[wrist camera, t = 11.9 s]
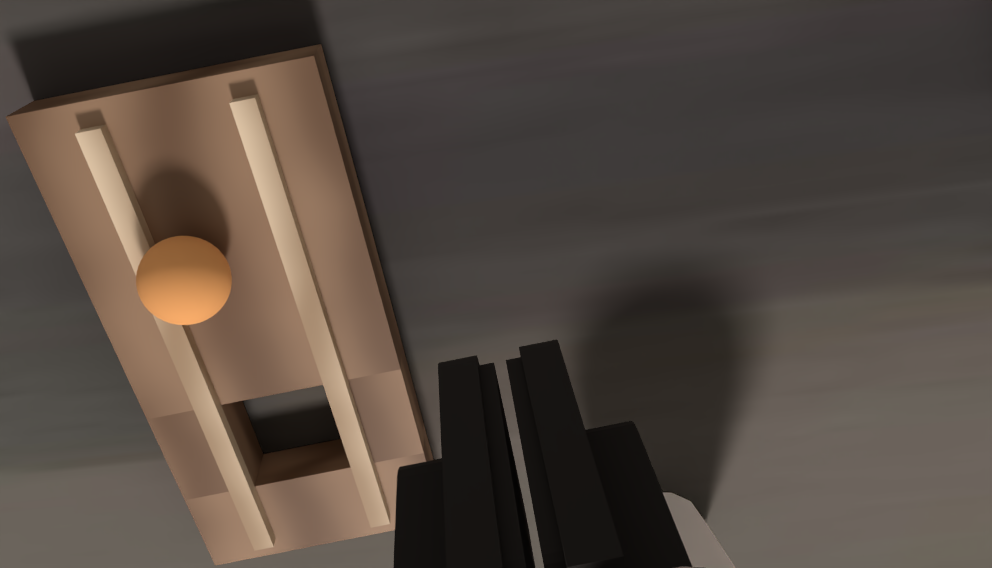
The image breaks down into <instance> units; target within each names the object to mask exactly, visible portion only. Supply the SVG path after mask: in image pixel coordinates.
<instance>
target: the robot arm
mask: <svg viewBox="0 0 992 568" xmlns="http://www.w3.org/2000/svg"><path fill="white" fill-rule="evenodd" d="M519 350H520V355H521V357H520V358H515V359H510V360H506V363H507V369H508V374H509V379H510V385H511V390H512V396H513V401H514V406H515V412H516V417H517V423H518V428H519V433H520V439H521V444H522V450H523V455H524V461H525V466H526V471H527V477H528V482H529V488H530V493H531V498H532V504H533V509H534V515H535V520H536V525H537V531H538V536H539V542H540V547H541V552H542V558H543V563H544V568H704V567H692V564H691V562H690V559H689V557H688V554H687V552H686V549H685V547H684V544H683V542H682V539H681V537H680V535H679V532H678V530H677V527H676V525H675V522H674V520H673V517H672V515H671V512H670V510H669V507H668V505H667V502H666V500H665V497H664V495H663V492H662V490H661V487H660V485H659V482H658V480H657V477H656V475H655V472H654V470H653V467H652V465H651V462H650V460H649V457H648V455H647V452H646V450H645V448H644V445H643V443H642V440H641V438H640V435H639V433H638V430H637V428H636V426H635V424H634V423H633V422H632V421H629V422H624V423H619V424H614V425H609V426H604V427H599V428H594V429H588V430H585V428H584V425H583V422H582V418H581V415H580V412H579V408H578V405H577V402H576V399H575V395H574V392H573V389H572V386H571V382H570V379H569V376H568V373H567V369H566V366H565V363H564V360H563V356H562V353H561V350H560V346H559V343H558V340H552V341H547V342H542V343H537V344H532V345H527V346H522V347H519ZM438 375H439V399H440V423H441V447H442V459H437V460H432V461H427V462H421V463H416V464H411V465H406V466H401V467H399V469H398V473H397V489H396V517H395V545H394V568H535V563H534V557H533V552H532V546H531V540H530V534H529V529H528V523H527V518H526V513H525V508H524V503H523V498H522V494H521V489H520V484H519V479H518V475H517V470H516V465H515V460H514V456H513V451H512V446H511V441H510V437H509V432H508V427H507V422H506V418H505V413H504V408H503V403H502V399H501V394H500V389H499V384H498V380H497V375H496V370H495V366H494V363H489V364H484V365H479V362H478V358H477V355H476V356H471V357H466V358H461V359H456V360H451V361H446V362H441V363H439V364H438Z"/></svg>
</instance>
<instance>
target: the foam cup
mask: <svg viewBox="0 0 992 568" xmlns="http://www.w3.org/2000/svg"><path fill="white" fill-rule="evenodd" d="M663 495H664V497H665V500H666V502H667V505H668V507H669V510H670V512H671V515H672V517H673V520H674V522H675V525H676V527H677V530H678V532H679V535H680V537H681V539H682V542H683V544H684V547H685V549H686V552H687V554H688V557H689V559H690V562H691V564H692V567H704V568H735V566H734V565H733V563H732V562H731V560H730V559H729V557H728V556H727V554H726V552H725V551H724V549H723V548H722V546H721V545H720V543H719V542H718V540H717V539H716V537H715V536H714V534H713V533H712V531H711V530H710V528H709V527H708V525H707V524H706V522H705V521H704V519H703V518H702V516H701V515H700V514H699V512H698V511H697V509H696V508H695V506H694V505H693V503H692V502H691V501H689V500H687V499H685V498H682V497H680V496H678V495H676V494H674V493H668V492H663Z"/></svg>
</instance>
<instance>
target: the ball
mask: <svg viewBox="0 0 992 568" xmlns="http://www.w3.org/2000/svg"><path fill="white" fill-rule="evenodd" d="M231 285H232V275H231V270H230V267H229V264H228V262H227V260H226V258H225V257H224V255H223V254H222V253H221V252H220V250H219V249H218V248H216V247H215V246H214V245H213V244H211V243H209V242H207V241H206V240H203V239H201V238H197V237H193V236H175V237H170V238H167V239H164V240H162V241H160V242H158V243H157V244H155V245H154V246H152V247H151V248H150V249H149V250H148V251H147V252H146V254H145V255H144V256H143V258H142V259H141V261H140V264H139V266H138V269H137V274H136V287H137V291H138V295H139V297H140V299H141V301H142V303H143V304H144V306H145V307H146V308H147V309H148V311H150V312H151V313H152V314H153V315H154V316H156V317H157V318H159V319H161V320H163V321H165V322H168V323H172V324H176V325H191V324H196V323H200V322H203V321H205V320H207V319H209V318H211V317H212V316H214V315H215V314H216V313H217V312H218V311H219V310H220V309H221V308H222V307H223V306H224V304H225V303H226V301H227V299H228V297H229V294H230V291H231Z"/></svg>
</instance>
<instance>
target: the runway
mask: <svg viewBox="0 0 992 568" xmlns="http://www.w3.org/2000/svg"><path fill="white" fill-rule="evenodd" d="M6 119H7V121H8V123H9V125H10V127H11V129H12V132H13V134H14V136H15V138H16V140H17V142H18V144H19V147H20V149H21V151H22V153H23V155H24V157H25V159H26V162H27V164H28V166H29V168H30V170H31V172H32V174H33V177H34V179H35V181H36V183H37V185H38V187H39V189H40V191H41V194H42V196H43V198H44V200H45V202H46V204H47V206H48V209H49V211H50V213H51V215H52V217H53V219H54V221H55V224H56V226H57V228H58V230H59V232H60V234H61V236H62V239H63V241H64V243H65V245H66V247H67V249H68V251H69V254H70V256H71V258H72V260H73V262H74V264H75V266H76V268H77V271H78V273H79V275H80V277H81V279H82V281H83V283H84V286H85V288H86V290H87V292H88V294H89V296H90V298H91V301H92V303H93V305H94V307H95V309H96V311H97V313H98V316H99V318H100V320H101V322H102V324H103V326H104V328H105V330H106V333H107V335H108V337H109V339H110V341H111V343H112V345H113V348H114V350H115V352H116V354H117V356H118V358H119V360H120V363H121V365H122V367H123V369H124V371H125V373H126V375H127V378H128V380H129V382H130V384H131V386H132V388H133V390H134V393H135V395H136V397H137V399H138V401H139V403H140V405H141V407H142V410H143V412H144V414H145V416H146V418H147V420H148V422H149V425H150V427H151V429H152V431H153V433H154V435H155V437H156V440H157V442H158V444H159V446H160V448H161V450H162V452H163V455H164V457H165V459H166V461H167V463H168V465H169V467H170V469H171V472H172V474H173V476H174V478H175V480H176V482H177V484H178V487H179V489H180V491H181V493H182V495H183V497H184V499H185V502H186V504H187V506H188V508H189V510H190V512H191V514H192V517H193V519H194V521H195V523H196V525H197V527H198V529H199V532H200V534H201V536H202V538H203V540H204V542H205V544H206V546H207V549H208V551H209V553H210V555H211V557H212V559H213V561H214V564H215V565H220V564H225V563H230V562H235V561H240V560H245V559H250V558H255V557H260V556H265V555H271V554H276V553H281V552H286V551H291V550H296V549H301V548H306V547H311V546H316V545H321V544H326V543H331V542H336V541H341V540H346V539H352V538H357V537H362V536H367V535H372V534H377V533H382V532H387V531H392V530H395V517H396V489H397V473H398V469H399V467H401V466H406V465H411V464H416V463H421V462H427V461H432V460H433V456H432V452H431V449H430V445H429V441H428V438H427V434H426V430H425V426H424V423H423V419H422V415H421V412H420V408H419V404H418V401H417V397H416V393H415V389H414V386H413V382H412V378H411V375H410V371H409V367H408V364H407V360H406V356H405V352H404V349H403V345H402V341H401V338H400V334H399V330H398V327H397V323H396V319H395V316H394V312H393V308H392V304H391V301H390V297H389V293H388V290H387V286H386V282H385V279H384V275H383V271H382V267H381V264H380V260H379V256H378V253H377V249H376V245H375V242H374V238H373V234H372V230H371V227H370V223H369V219H368V216H367V212H366V208H365V205H364V201H363V197H362V193H361V190H360V186H359V182H358V179H357V175H356V171H355V168H354V164H353V160H352V156H351V153H350V149H349V145H348V142H347V138H346V134H345V131H344V127H343V123H342V119H341V116H340V112H339V108H338V105H337V101H336V97H335V94H334V90H333V86H332V82H331V79H330V75H329V71H328V68H327V64H326V60H325V57H324V53H323V49H322V46H321V44H319V45H314V46H309V47H304V48H299V49H293V50H288V51H283V52H278V53H273V54H268V55H263V56H258V57H253V58H248V59H243V60H238V61H233V62H228V63H223V64H218V65H213V66H208V67H203V68H198V69H193V70H188V71H183V72H177V73H172V74H167V75H162V76H157V77H152V78H147V79H142V80H137V81H132V82H127V83H122V84H117V85H112V86H107V87H102V88H97V89H92V90H87V91H82V92H77V93H72V94H67V95H62V96H56V97H51V98H46V99H41V100H36V101H33V102H31V103H29V104H28V105H26V106H24V107H22V108H20V109H19V110H17V111H15V112H13V113H12V114H10V115H8V116H6ZM175 236H193V237H197V238H201V239H203V240H206V241H207V242H209V243H211V244H213V245H214V246H215V247H216V248H218V249H219V250H220V252H221V253H222V254H223V255H224V257H225V258H226V260H227V262H228V264H229V267H230V270H231V275H232V285H231V291H230V294H229V297H228V299H227V301H226V303H225V304H224V306H223V307H222V308H221V309H220V310H219V311H218V312H217V313H216V314H215V315H214V316H212V317H211V318H209V319H207V320H205V321H203V322H200V323H196V324H191V325H176V324H172V323H168V322H165V321H163V320H161V319H159V318H157V317H156V316H154V315H153V314H152V313H151V312H150V311H148V309H147V308H146V307H145V306H144V304H143V303H142V301H141V299H140V297H139V295H138V291H137V287H136V274H137V269H138V266H139V264H140V261H141V259H142V258H143V256H144V255H145V254H146V252H147V251H148V250H149V249H150V248H151V247H152V246H154V245H155V244H157V243H158V242H160V241H162V240H164V239H167V238H170V237H175ZM319 385H323V386H324V389H325V392H326V395H327V398H328V401H329V404H330V407H331V410H332V413H333V416H334V419H335V422H336V425H337V428H338V431H339V434H340V437H341V439H338V440H333V441H328V442H323V443H318V444H312V445H307V446H302V447H297V448H292V449H287V450H282V451H277V452H272V453H267V454H263V452H262V450H261V447H260V445H259V442H258V439H257V437H256V434H255V432H254V429H253V427H252V424H251V422H250V419H249V417H248V414H247V412H246V409H245V407H244V404H243V400H248V399H253V398H258V397H263V396H268V395H273V394H278V393H283V392H289V391H294V390H299V389H304V388H309V387H314V386H319Z"/></svg>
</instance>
